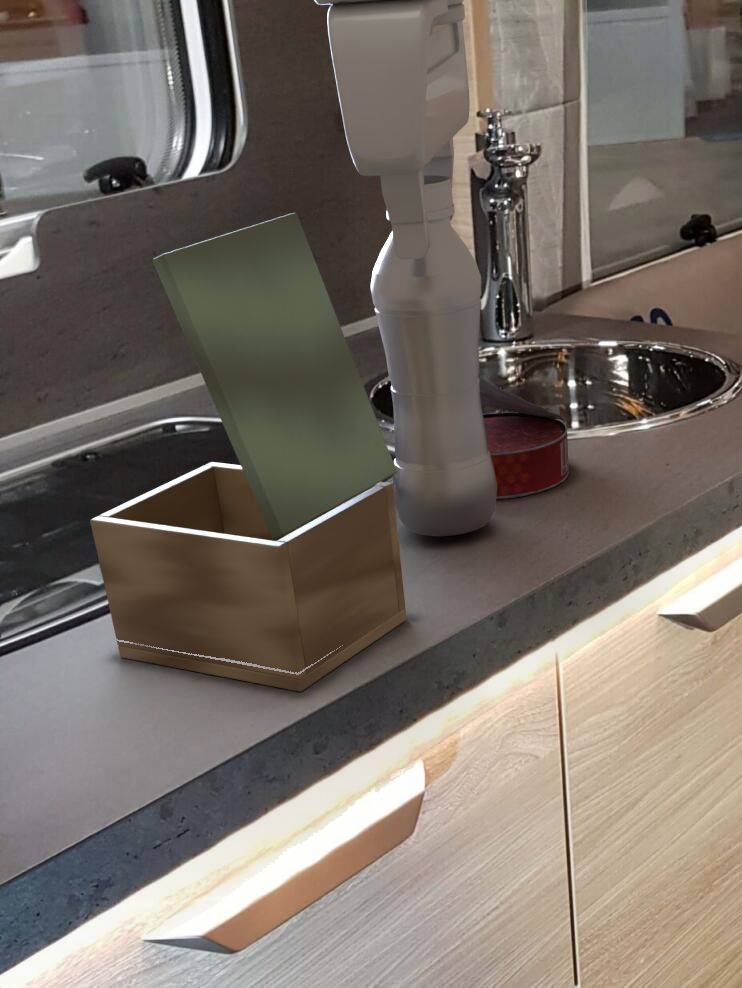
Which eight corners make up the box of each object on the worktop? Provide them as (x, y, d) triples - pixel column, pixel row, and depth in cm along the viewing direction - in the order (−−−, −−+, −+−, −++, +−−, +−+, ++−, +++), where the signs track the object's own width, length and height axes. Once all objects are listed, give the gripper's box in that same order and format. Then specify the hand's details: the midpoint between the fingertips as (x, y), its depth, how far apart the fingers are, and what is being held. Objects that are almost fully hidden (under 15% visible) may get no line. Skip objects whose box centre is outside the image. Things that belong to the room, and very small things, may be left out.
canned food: (439, 534, 112) (413, 392, 111) (575, 506, 112) (550, 364, 110) (430, 506, 101) (400, 349, 100) (581, 476, 101) (554, 317, 99)
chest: (119, 657, 86) (89, 519, 81) (233, 591, 93) (211, 461, 88) (300, 692, 80) (279, 546, 76) (407, 619, 87) (393, 482, 83)
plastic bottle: (518, 532, 98) (498, 177, 86) (424, 556, 96) (390, 195, 84) (470, 507, 103) (444, 166, 91) (378, 529, 100) (340, 182, 88)
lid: (151, 259, 70) (163, 253, 70) (285, 217, 77) (296, 211, 77) (271, 539, 76) (283, 535, 75) (386, 476, 83) (397, 472, 82)
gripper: (375, -55, 90) (401, 211, 98) (299, -37, 73) (338, 280, 81) (483, -64, 89) (500, 205, 97) (430, -48, 72) (456, 273, 81)
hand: (426, 240), depth 89 cm, fingers open, 8 cm apart
